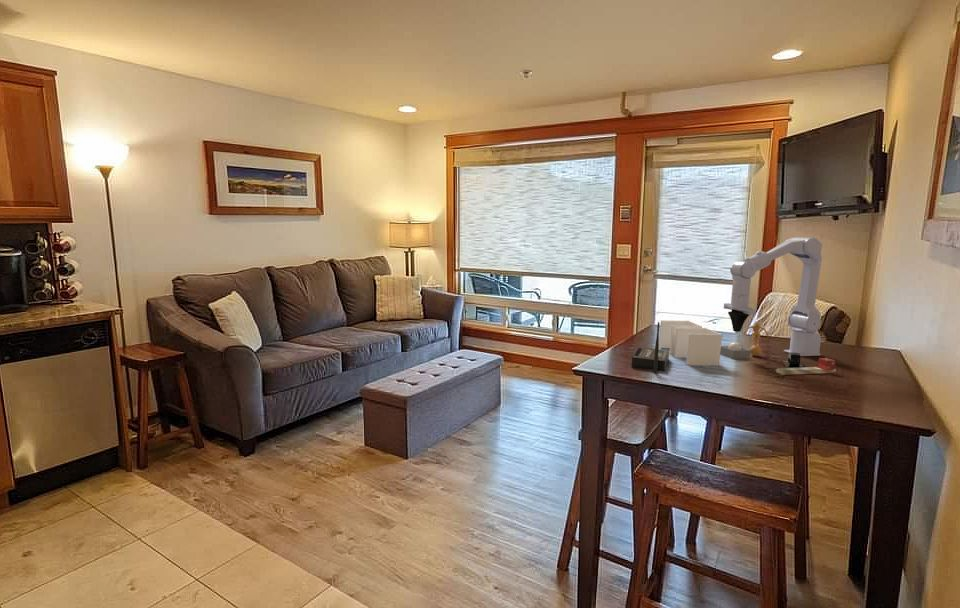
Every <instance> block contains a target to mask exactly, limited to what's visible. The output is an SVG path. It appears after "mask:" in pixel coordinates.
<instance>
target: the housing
mask: <svg viewBox="0 0 960 608" xmlns="http://www.w3.org/2000/svg"><path fill="white" fill-rule="evenodd" d="M728 346H729V345H721V351H720V355H722V356H725V357H727V358H730V359H734V360H735V359H750V358H751V353H750V351H751V350H750V348H746V347H743V346H742V350H732V349H730V348H728Z"/></svg>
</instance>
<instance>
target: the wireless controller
mask: <svg viewBox="0 0 960 608" xmlns="http://www.w3.org/2000/svg"><path fill="white" fill-rule="evenodd" d="M660 324H661V322H660V321H658V322H657V327H656V328H657V329H656V338H655V346H654V348H649V347H642V346H641V347H640V346H639V347H638V348H637V350H636V351H635V353H634V354H633V355H632V357H631V368H636V369H645V370H652V372H653V374H657V373H658V371H659V372H665V370H666V368H667V365H668V363H669V358H670V357H669V356H670V354H669V351H670V349H669V350H667V349H661V348H659V337H660Z"/></svg>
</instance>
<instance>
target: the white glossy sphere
mask: <svg viewBox="0 0 960 608" xmlns="http://www.w3.org/2000/svg"><path fill="white" fill-rule="evenodd" d="M727 346H728V348H730V349H732V350H742V347H743V345H741V343H739V342H737V341H735V342H733V341H732V342H731V343H730V344H729V345H727Z"/></svg>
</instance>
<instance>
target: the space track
mask: <svg viewBox="0 0 960 608" xmlns="http://www.w3.org/2000/svg"><path fill="white" fill-rule="evenodd" d="M817 361H818V362H817V366H809V367H807V366H806V367H804V366H803V367H804V368H789V367H781V368H775V373H777V374H780V375H782V376H784V375H812V374H813V375H815V374H835V373H837V369H835V365H836V360H834V359H831V358H828V357H818V360H817Z"/></svg>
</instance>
